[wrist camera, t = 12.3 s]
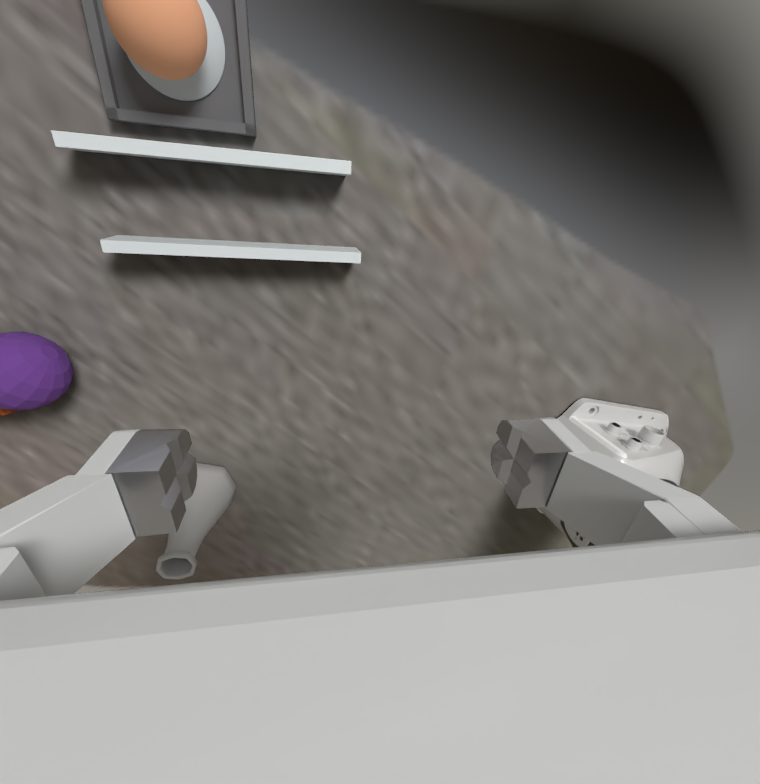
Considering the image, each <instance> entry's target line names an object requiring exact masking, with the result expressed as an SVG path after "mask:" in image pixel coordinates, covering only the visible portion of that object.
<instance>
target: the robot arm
mask: <svg viewBox="0 0 760 784" xmlns="http://www.w3.org/2000/svg"><path fill="white" fill-rule="evenodd" d="M668 425H669V420H668V416H667V415H666V414H665V413H664V412H662V411H659V410H653V409H647V408H641V407H635V406H630V405H624V404H618V403H612V402H606V401H600V400H594V399H588V398H582V399H579V400H577V401H576V402H575V403H574V404H573V405H571V406H570V407H569V408H568V409H567V410H566V411H565V412H564V413H563V414H562V415H561V416H560V417H558V418H557V419H555V418H552V417H551V418H536V419H521V420H502V421H501V422H500V424H499V425H498V429H497V432H496V433H497V435H498V437H499V440H498V441H497V442H496V443H495V444H494V445H493V447H492V452H491V465H492V468H493V472H494V473H495V475H496V477H497V478H498V479H499V480H501V481H502V482H504V483H505V484H506V488H505V491H506V493H507V495H508V496H509V498H510V499H511V501H512V502H513V504H514V506H515V507H516V509H517V508H536V509H537V510H538V511H539V512H540V513H542V514H545V515H546V516H547V517H548V518H549V520H550V521H551V522H552V523H553V524H554V525H555V526H556V527H557V528H558V529H559V530H560V531H561V532H562V533H563V534H564V535H565V536H566V537H567V538H568V539H569V541H570V542H571V544H572V546H573V548H563V549H553V550H542V551H531V552H520V553H509V554H498V555H487V556H475V557H464V558H453V559H442V560H432V561H421V562H410V563H400V564H389V565H378V566H368V567H357V568H346V569H336V570H325V571H314V572H304V573H293V574H282V575H271V576H261V577H250V578H239V579H228V580H218V581H207V582H196V583H185V584H175V585H164V586H153V587H142V588H132V589H121V590H110V591H100V592H89V593H79V594H74V593H75V592H76V591H77V590H79V589H80V588H81V587H82V586H83V585H84V584H85V583H86V582H88V581H89V580H90V579H91V578H92V577H93V576H94V575H95V574H97V573H98V572H99V571H100V570H101V569H102V568H103V567H104V566H106V565H107V564H108V563H109V562H110V561H111V560H112V559H113V558H115V557H116V556H117V555H118V554H119V553H120V552H121V551H122V550H124V549H125V548H126V547H127V546H128V545H129V544H130V543H131V542H133V541H134V540H135V537H139V536H149V535H159V534H170V533H177V531H178V529H179V526H180V524H181V522H182V519H183V517H184V514H185V512H186V507H185V503H184V502H185V501H186V500H187V499H189V498H190V497H191V496H192V495H193V493H194V490H195V487H196V481H197V464H196V459H195V458H194V457H193V456H192V455H191V454H190V453H189V452H188V451H189V449H190V446H191V444H192V442H191V438H190V435H189V432H188V431H187V430H186V429H146V430H118V431H114V432H112V433H111V434H110V436H109V437H108V438H107V439H106V440H105V441H104V443H103V444H102V445H101V446H100V447H99V448H98V449H97V451H96V452H95V453H94V454H93V455H92V456H91V458H90V459H89V460H88V461H87V462H86V463H85V465H84V466H83V467H82V468H81V469H80V470H79V471H78V473H77V474H76V475H72V476H66V477H64V478H62V479H60V480H58V481H56V482H54V483H52V484H50V485H48V486H46V487H44V488H42V489H40V490H38V491H36V492H34V493H32V494H30V495H28V496H26V497H24V498H22V499H20V500H18V501H16V502H14V503H12V504H10V505H8V506H6V507H4V508H2V509H0V784H760V530H755V531H745V532H743V531H741V530H740V529H739V528H738V527H736V526H735V525H734V524H732V523H731V522H730V521H729V520H728V519H726V518H725V517H724V516H723V515H721V514H720V513H719V512H718V511H716V510H715V509H714V508H713V507H711V506H710V505H709V504H708V503H706V502H705V501H704V500H703V499H701V498H700V497H699V496H697V495H695V494H692V493H690V492H688V491H686V490H683V489H681V488H679V483H680V478H681V473H682V469H683V464H684V456H683V453H682V451H681V449H680V448H679V447H678V446H677V445H676V444H675V443H674V442H672V441H671V440H670V439H668V438H667V437H666V435H667V431H668Z"/></svg>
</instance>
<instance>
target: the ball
mask: <svg viewBox="0 0 760 784" xmlns="http://www.w3.org/2000/svg"><path fill="white" fill-rule="evenodd" d="M102 2H103V8H104V12H105V15H106V18H107V21H108V24H109V26H110V28H111V31H112V33H113V35H114V36H115V38H116V40H117V41H118V43H119V44H120V46H121V47H122V49H123V50H124V51H125V52H126V53H127V55H128V56H129V57H130V58H131V59H132V60H133V61H134V62H135V63H136V64H137V65H139V66H140V67H141V68H142V69H144V70H146V71H147V72H149V73H150V74H152V75H154V76H156V77H159V78H162V79H166V80H183V79H186V78H188V77H190V76H192V75H193V74H194V73H196V71H197V70H198V69H199V68H200V66H201V65H202V63H203V61H204V58H205V55H206V51H207V29H206V23H205V19H204V16H203V13H202V10H201V7H200V5H199V3H198V1H197V0H102Z"/></svg>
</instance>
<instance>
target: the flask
mask: <svg viewBox="0 0 760 784" xmlns="http://www.w3.org/2000/svg"><path fill="white" fill-rule="evenodd" d="M196 464H197V481H196V487H195V490H194V493H193V495H192V496H191V497H190V498H189V499H187V500H186V501H185V502H184V503H185V507H186V512H185V514H184V517H183V519H182V522H181V524H180V526H179V529H178V531H177V533H170V534H168V541H167V547H166V549H165V552H164V554H163V555H161V556H160V557H159V558H158V561H157V566H156V570H155V571H156V572H157V573H158V574H159V575H160V576H161V577H162V578H163V579H175V580H180V579H183V578H186V577H189V576H192V575H194V572H195V568H196V565H197V560H196V559H195V556H196V553H197V551H198V549H199V547H200V545H201V543H202V541H203V539H204V538H205V536H206V535H207V534H208V532H209V531H210V530H211V528H212V527H213V526H214V524H215V523H216V522H217V521H218V519H219V518H220V517H221V516H222V515H223V513H224V512H225V511H226V510H227V508H228V507H229V506H230V505H231V501H232V498H233V495H234V492H235V488H236V485H235V483H234V481H233V480H232V478H231V477H230V475H229V474H228V472H227V471H226V469H225V467H219V466H213V465H207V464H201V463H196Z"/></svg>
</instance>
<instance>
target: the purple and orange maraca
mask: <svg viewBox="0 0 760 784" xmlns="http://www.w3.org/2000/svg"><path fill="white" fill-rule="evenodd" d="M72 376H73V368H72V365H71V362H70V360H69V357H68V356H67V354H66V353H65V352H64V350H63V349H62V348H61V347H59V346H58V345H57V344H56V343H54V342H52V341H50V340H48V339H46V338H44V337H41V336H39V335H35V334H31V333H27V332H8V333H0V415H7V414H11V413H14V412H16V411H17V410H29V409H35V408H39V407H43V406H47V405H49V404H50V403H52V402H53V401H55V400H57V399H58V398H59V397H61V396H62V395H63V394H64V393H65V392H66V391H67V390H68V388H69V385H70V383H71V380H72Z"/></svg>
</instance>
